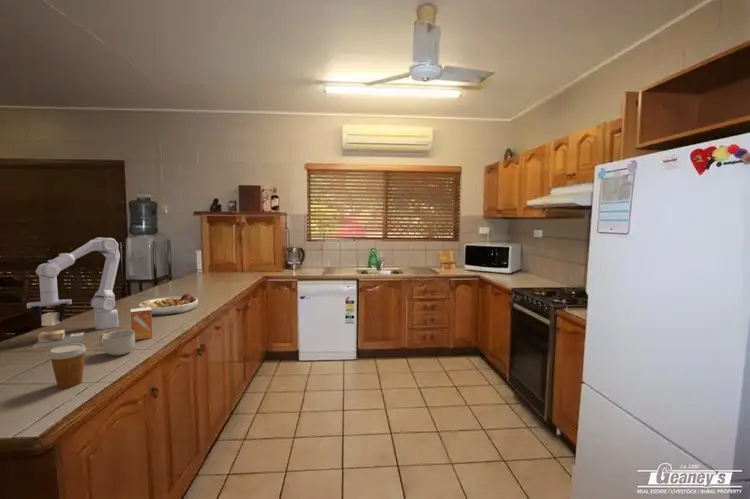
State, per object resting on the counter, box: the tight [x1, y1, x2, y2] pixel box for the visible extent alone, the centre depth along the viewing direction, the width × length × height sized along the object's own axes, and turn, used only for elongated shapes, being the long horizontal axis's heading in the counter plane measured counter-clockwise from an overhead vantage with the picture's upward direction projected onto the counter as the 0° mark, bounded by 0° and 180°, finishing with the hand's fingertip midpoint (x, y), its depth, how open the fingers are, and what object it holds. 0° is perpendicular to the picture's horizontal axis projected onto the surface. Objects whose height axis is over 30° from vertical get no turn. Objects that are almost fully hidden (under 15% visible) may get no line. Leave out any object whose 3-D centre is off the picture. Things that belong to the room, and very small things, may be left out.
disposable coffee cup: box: [48, 343, 87, 389], centre depth 124 cm, size 10×10×12 cm
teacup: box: [98, 329, 136, 357], centre depth 152 cm, size 14×11×8 cm
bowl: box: [138, 292, 199, 316], centre depth 223 cm, size 30×30×8 cm
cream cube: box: [40, 312, 62, 327], centre depth 165 cm, size 4×4×4 cm
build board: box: [32, 331, 86, 349], centre depth 165 cm, size 16×16×1 cm
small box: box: [129, 307, 153, 341], centre depth 171 cm, size 8×6×13 cm
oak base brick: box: [37, 329, 66, 343], centre depth 165 cm, size 8×6×3 cm
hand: (51, 322), depth 165 cm, fingers closed on cream cube, 6 cm apart
